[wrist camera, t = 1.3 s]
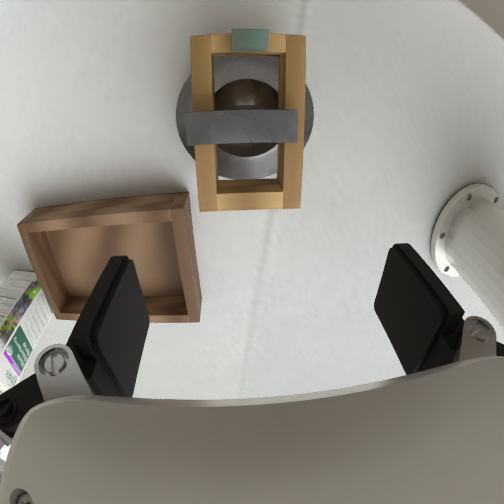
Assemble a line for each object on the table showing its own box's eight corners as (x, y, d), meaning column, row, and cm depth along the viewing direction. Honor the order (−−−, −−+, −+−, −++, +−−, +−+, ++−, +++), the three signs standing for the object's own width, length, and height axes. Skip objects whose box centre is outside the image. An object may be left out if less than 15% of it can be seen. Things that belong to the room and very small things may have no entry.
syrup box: (58, 308, 31) (14, 400, 19) (25, 303, 31) (-20, 385, 18) (45, 271, 28) (-13, 366, 16) (12, 268, 28) (-46, 351, 15)
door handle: (313, 53, 19) (344, 43, 13) (309, 177, 25) (334, 210, 19) (174, 55, 19) (152, 44, 13) (182, 181, 25) (166, 216, 19)
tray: (188, 192, 25) (183, 208, 22) (201, 298, 32) (199, 322, 28) (34, 208, 24) (17, 224, 21) (67, 299, 31) (56, 319, 28)
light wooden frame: (295, 42, 17) (311, 32, 13) (292, 193, 23) (304, 217, 19) (195, 42, 16) (186, 32, 13) (203, 196, 23) (197, 221, 19)
